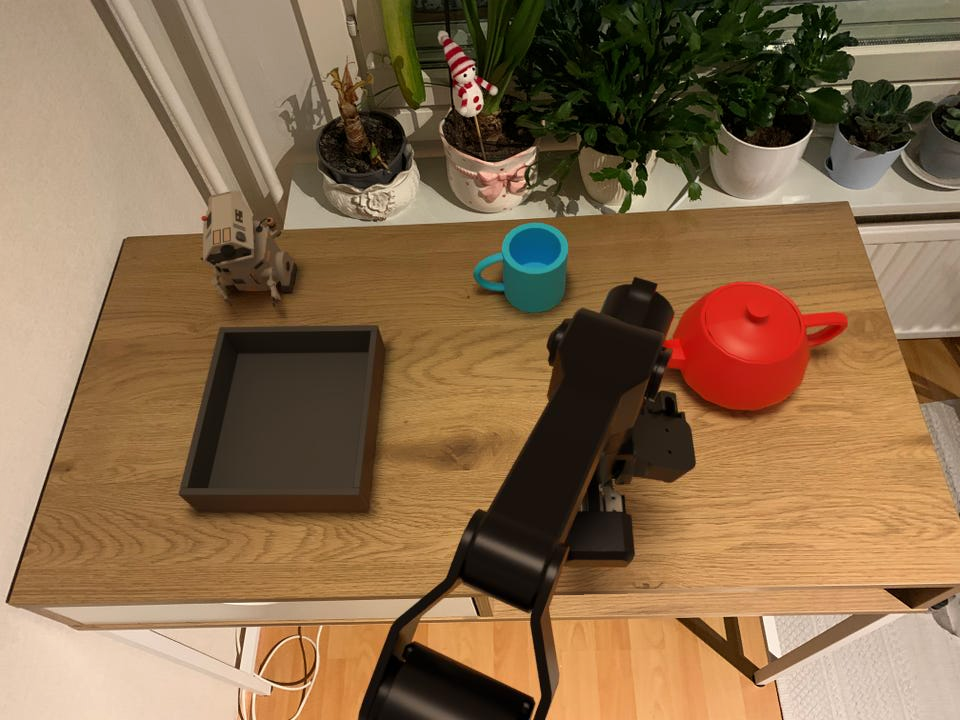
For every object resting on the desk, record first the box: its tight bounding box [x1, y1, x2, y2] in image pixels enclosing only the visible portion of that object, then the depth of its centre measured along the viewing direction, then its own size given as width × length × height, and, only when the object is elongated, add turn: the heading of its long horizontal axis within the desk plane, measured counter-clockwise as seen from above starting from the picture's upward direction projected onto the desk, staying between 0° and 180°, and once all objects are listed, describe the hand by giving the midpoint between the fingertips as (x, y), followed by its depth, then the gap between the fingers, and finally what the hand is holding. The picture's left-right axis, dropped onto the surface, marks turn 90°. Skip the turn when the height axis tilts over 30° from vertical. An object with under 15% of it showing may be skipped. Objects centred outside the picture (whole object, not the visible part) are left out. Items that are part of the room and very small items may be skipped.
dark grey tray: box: [178, 324, 386, 513], centre depth 85 cm, size 22×20×6 cm
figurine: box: [200, 190, 298, 307], centre depth 92 cm, size 9×12×15 cm
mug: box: [472, 222, 569, 313], centre depth 93 cm, size 12×8×8 cm
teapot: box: [663, 281, 849, 411], centre depth 83 cm, size 25×16×12 cm, turn 96°
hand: (583, 492), depth 71 cm, fingers closed on sprinkles bottle, 4 cm apart
